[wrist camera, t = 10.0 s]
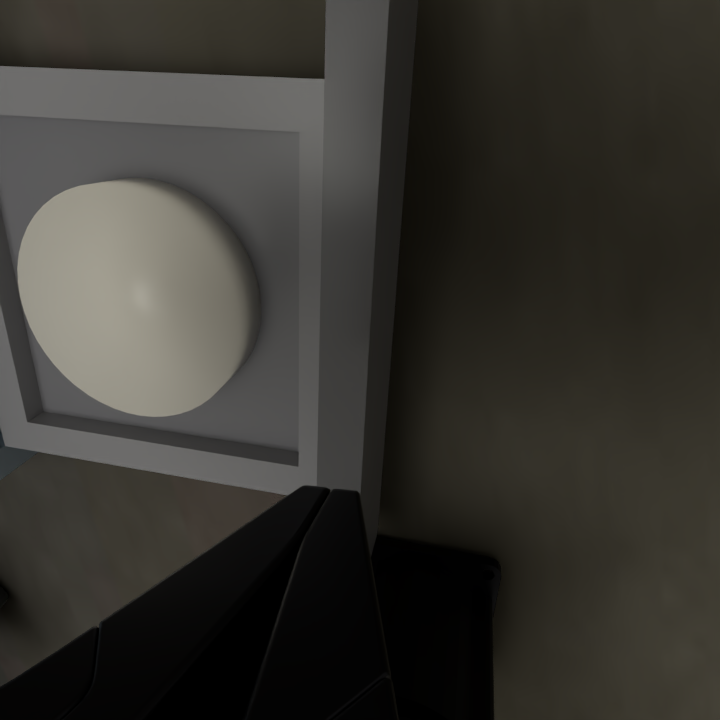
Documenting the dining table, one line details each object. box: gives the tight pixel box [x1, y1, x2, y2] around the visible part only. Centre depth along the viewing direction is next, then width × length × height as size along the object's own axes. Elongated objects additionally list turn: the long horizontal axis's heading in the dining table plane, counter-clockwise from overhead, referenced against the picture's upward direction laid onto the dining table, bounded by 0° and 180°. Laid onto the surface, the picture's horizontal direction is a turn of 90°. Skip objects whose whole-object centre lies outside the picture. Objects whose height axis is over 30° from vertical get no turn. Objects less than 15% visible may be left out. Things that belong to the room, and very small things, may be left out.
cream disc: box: [17, 178, 261, 417], centre depth 17 cm, size 7×7×2 cm
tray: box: [0, 0, 418, 555], centre depth 16 cm, size 14×17×4 cm
